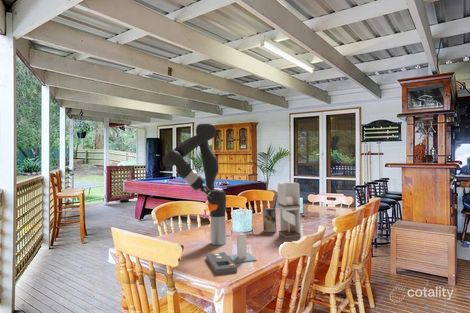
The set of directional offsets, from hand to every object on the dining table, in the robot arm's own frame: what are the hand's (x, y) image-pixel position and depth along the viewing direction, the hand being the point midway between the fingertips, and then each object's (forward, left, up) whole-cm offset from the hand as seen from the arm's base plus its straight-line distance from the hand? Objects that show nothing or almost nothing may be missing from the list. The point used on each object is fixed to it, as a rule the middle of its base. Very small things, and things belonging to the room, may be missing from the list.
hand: (215, 199), depth 176 cm
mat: (+9, +12, -31) cm, 34 cm away
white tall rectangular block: (+9, +12, -30) cm, 33 cm away
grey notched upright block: (-27, +57, -31) cm, 70 cm away
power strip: (+13, -1, -31) cm, 33 cm away
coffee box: (-42, +49, -31) cm, 71 cm away
